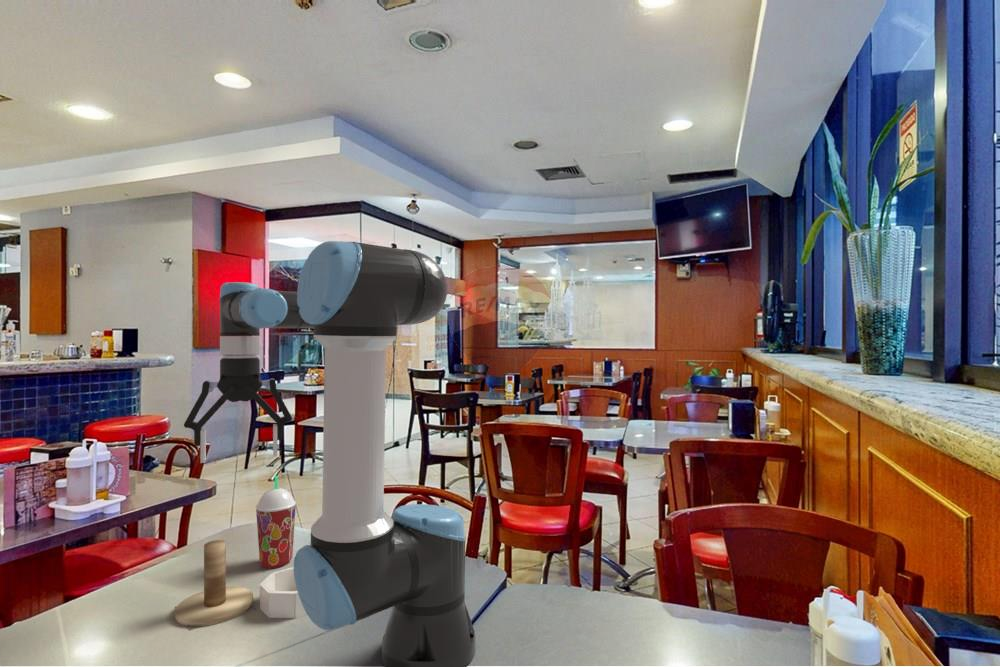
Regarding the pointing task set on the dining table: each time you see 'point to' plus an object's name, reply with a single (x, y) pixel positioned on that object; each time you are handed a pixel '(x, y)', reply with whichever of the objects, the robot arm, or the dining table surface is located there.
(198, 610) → the wooden peg stand
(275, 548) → the smoothie
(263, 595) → the bowl
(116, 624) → the dining table surface
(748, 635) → the dining table surface
